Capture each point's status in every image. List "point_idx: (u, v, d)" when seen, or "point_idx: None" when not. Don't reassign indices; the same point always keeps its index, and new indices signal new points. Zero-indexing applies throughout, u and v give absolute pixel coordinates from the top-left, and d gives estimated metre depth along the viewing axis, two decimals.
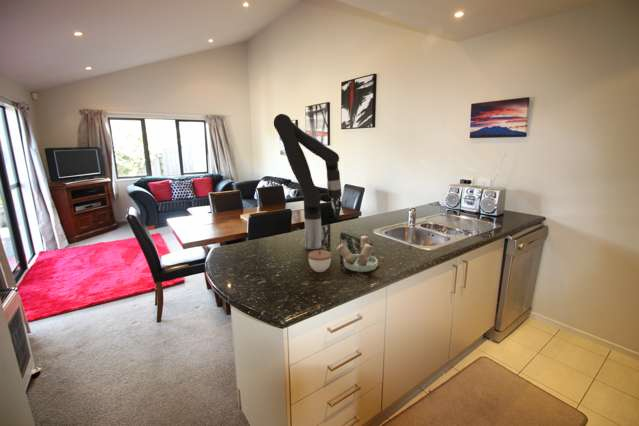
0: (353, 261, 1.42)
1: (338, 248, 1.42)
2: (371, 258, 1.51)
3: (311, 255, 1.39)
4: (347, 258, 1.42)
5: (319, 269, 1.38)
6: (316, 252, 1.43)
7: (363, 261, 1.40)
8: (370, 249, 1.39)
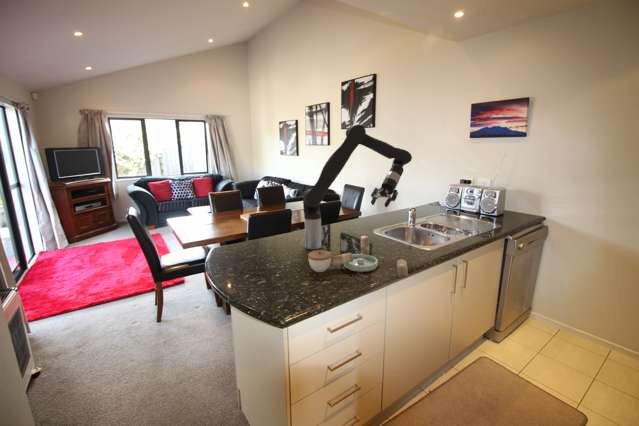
0: (351, 260, 1.41)
1: None
2: (371, 258, 1.51)
3: (311, 255, 1.39)
4: None
5: (319, 269, 1.38)
6: (316, 252, 1.43)
7: (398, 268, 1.34)
8: (399, 260, 1.40)
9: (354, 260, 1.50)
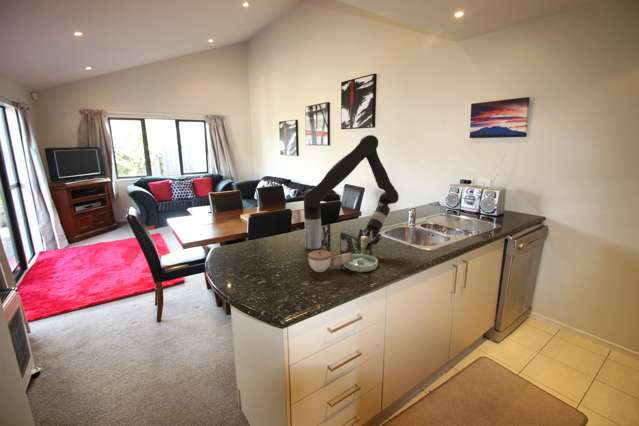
0: (351, 260, 1.41)
1: None
2: (371, 258, 1.51)
3: (311, 255, 1.39)
4: None
5: (319, 269, 1.38)
6: (316, 252, 1.43)
7: None
8: None
9: (354, 260, 1.50)
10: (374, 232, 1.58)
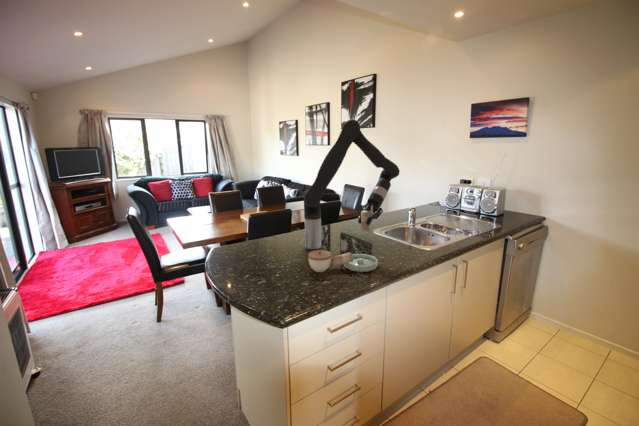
0: (351, 260, 1.41)
1: (332, 264, 1.43)
2: (371, 258, 1.51)
3: (311, 255, 1.39)
4: None
5: (319, 269, 1.38)
6: (316, 252, 1.43)
7: None
8: None
9: (354, 260, 1.50)
10: (375, 206, 1.54)
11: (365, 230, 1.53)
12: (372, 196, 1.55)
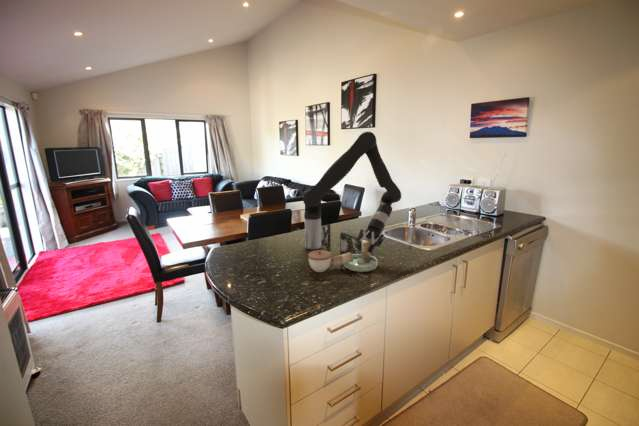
0: (351, 260, 1.41)
1: None
2: (371, 258, 1.51)
3: (311, 255, 1.39)
4: None
5: (319, 269, 1.38)
6: (316, 252, 1.43)
7: None
8: None
9: (354, 260, 1.50)
10: (376, 233, 1.48)
11: (366, 260, 1.48)
12: (373, 222, 1.50)
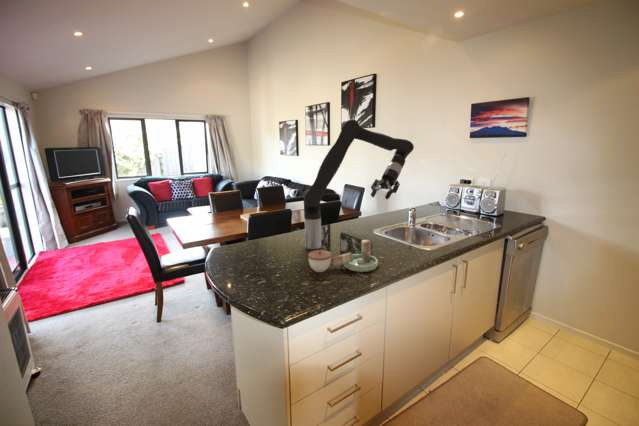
0: (351, 260, 1.41)
1: None
2: (371, 258, 1.51)
3: (311, 255, 1.39)
4: None
5: (319, 269, 1.38)
6: (316, 252, 1.43)
7: None
8: None
9: (354, 260, 1.50)
10: (390, 181, 1.54)
11: (366, 260, 1.48)
12: (387, 171, 1.55)
